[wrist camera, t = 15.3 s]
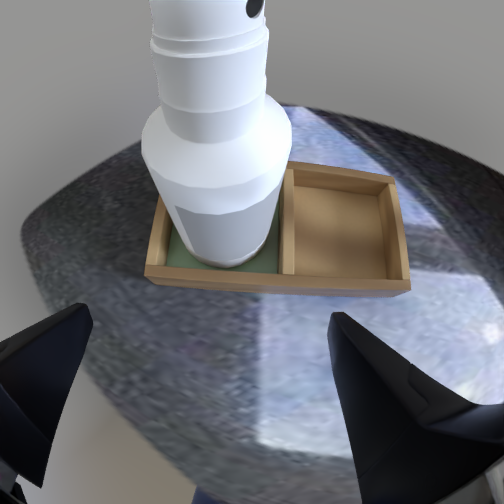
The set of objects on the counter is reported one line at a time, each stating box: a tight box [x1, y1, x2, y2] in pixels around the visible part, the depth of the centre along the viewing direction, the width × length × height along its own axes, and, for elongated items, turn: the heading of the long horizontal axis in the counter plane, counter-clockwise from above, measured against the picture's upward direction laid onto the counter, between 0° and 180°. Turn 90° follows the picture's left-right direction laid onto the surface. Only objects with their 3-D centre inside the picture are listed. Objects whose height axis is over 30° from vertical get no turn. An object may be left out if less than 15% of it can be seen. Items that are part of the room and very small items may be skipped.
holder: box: [144, 161, 411, 297], centre depth 21 cm, size 10×19×3 cm, turn 87°
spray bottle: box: [142, 0, 292, 268], centre depth 13 cm, size 7×7×18 cm
